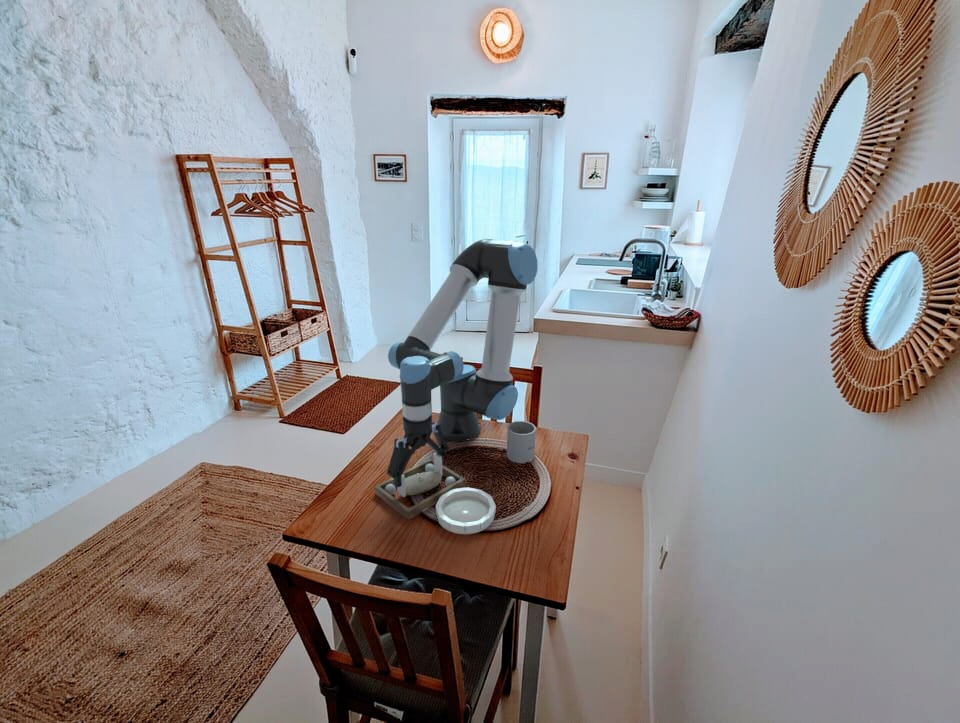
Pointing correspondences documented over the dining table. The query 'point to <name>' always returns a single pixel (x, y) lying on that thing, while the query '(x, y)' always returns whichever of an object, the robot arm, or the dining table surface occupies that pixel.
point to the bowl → (465, 510)
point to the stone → (421, 482)
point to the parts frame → (424, 504)
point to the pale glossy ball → (429, 468)
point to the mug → (521, 441)
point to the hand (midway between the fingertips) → (420, 484)
